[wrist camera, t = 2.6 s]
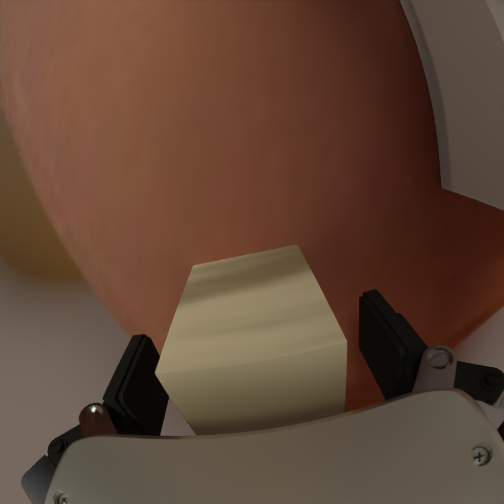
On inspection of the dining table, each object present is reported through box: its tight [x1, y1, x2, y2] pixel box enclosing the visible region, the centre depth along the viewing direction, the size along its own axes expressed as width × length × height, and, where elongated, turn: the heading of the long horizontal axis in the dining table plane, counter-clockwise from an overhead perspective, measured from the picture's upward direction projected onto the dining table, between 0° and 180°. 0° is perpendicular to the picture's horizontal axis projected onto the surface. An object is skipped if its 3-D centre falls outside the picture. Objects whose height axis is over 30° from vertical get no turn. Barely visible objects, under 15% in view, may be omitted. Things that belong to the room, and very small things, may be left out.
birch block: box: [155, 244, 347, 436], centre depth 10 cm, size 5×5×7 cm
